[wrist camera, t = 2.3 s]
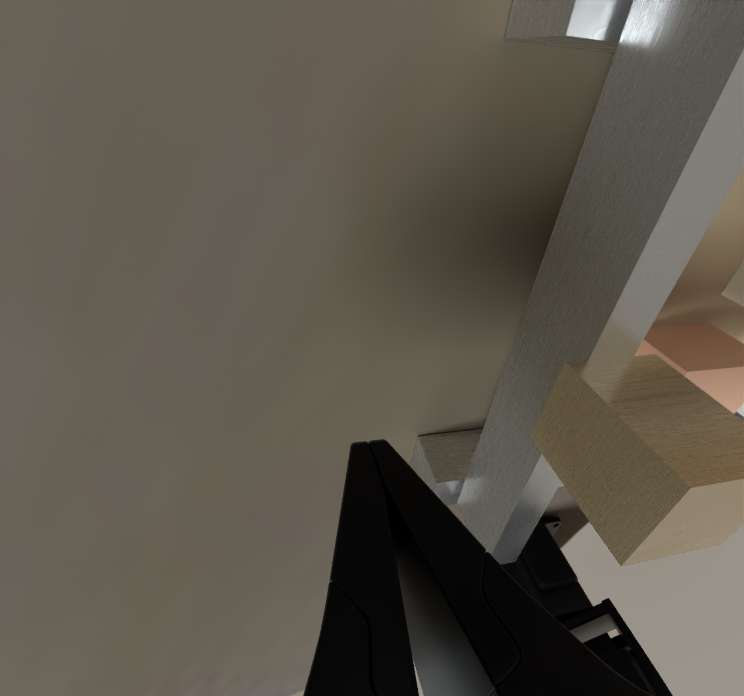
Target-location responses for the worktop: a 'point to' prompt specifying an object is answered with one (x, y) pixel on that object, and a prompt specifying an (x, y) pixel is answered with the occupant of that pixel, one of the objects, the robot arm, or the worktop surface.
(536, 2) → the rails
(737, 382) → the salmon pink block
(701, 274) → the board
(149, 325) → the worktop surface
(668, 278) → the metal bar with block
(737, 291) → the beige block
